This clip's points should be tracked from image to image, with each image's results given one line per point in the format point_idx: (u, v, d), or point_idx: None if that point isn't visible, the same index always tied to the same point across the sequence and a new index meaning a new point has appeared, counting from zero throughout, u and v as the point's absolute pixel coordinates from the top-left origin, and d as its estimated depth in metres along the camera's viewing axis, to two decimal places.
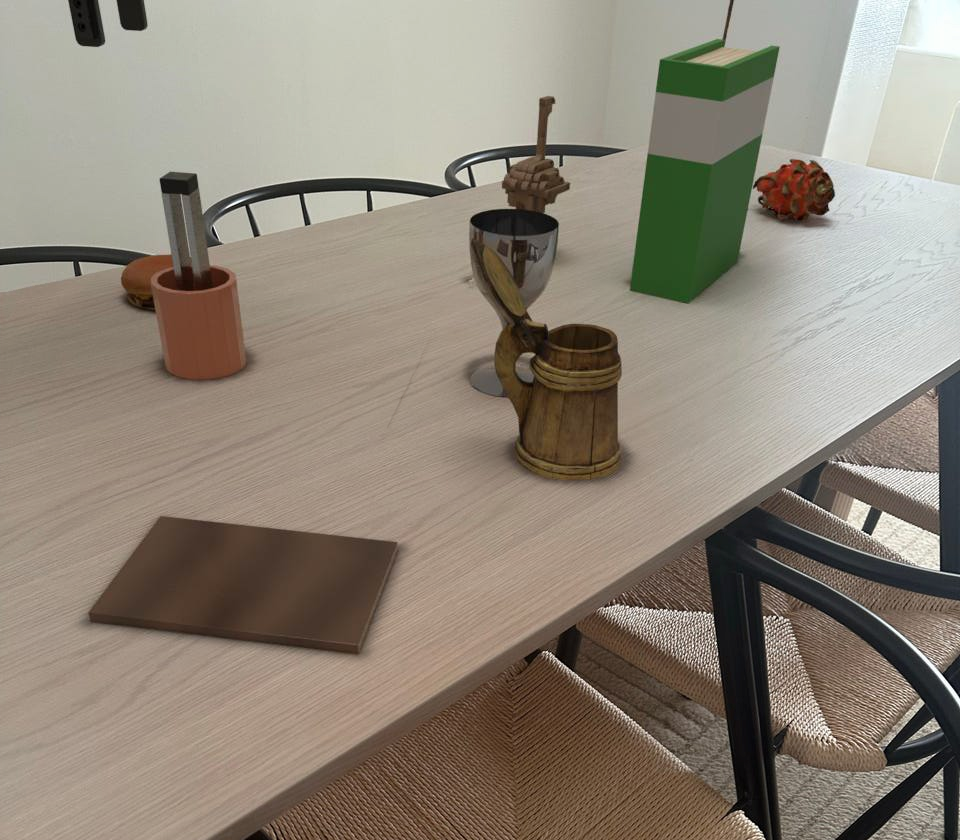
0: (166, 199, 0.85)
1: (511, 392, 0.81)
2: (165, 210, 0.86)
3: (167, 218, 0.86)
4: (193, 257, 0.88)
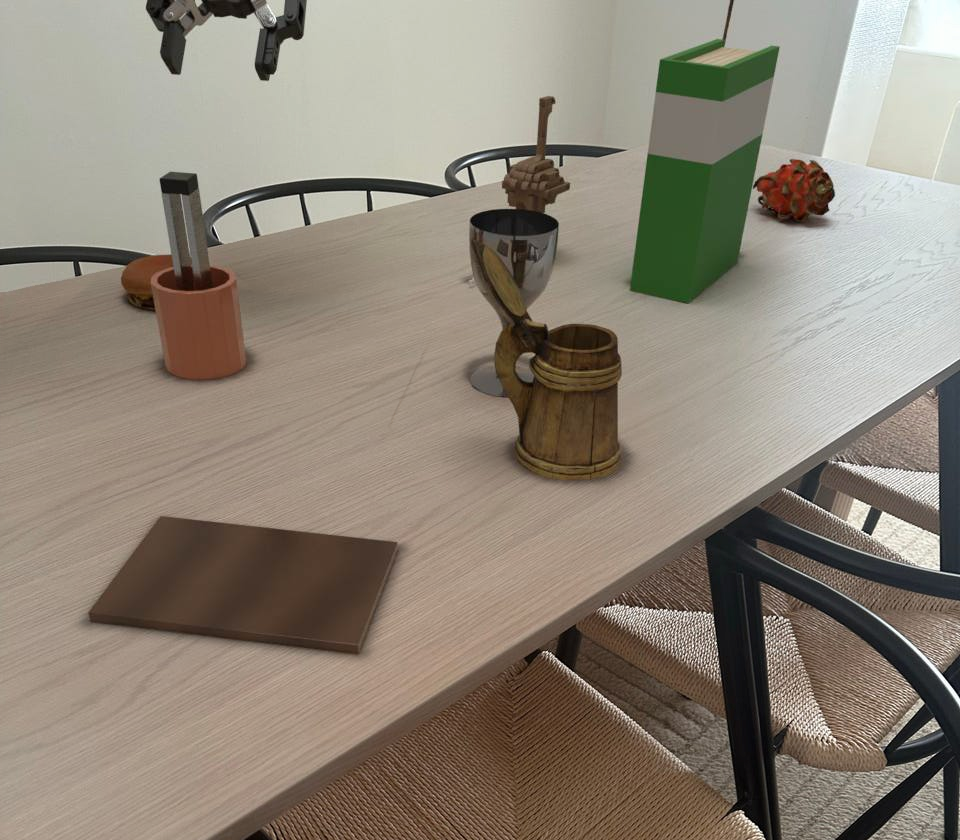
0: (166, 199, 0.85)
1: (511, 392, 0.81)
2: (165, 210, 0.86)
3: (167, 218, 0.86)
4: (193, 257, 0.88)
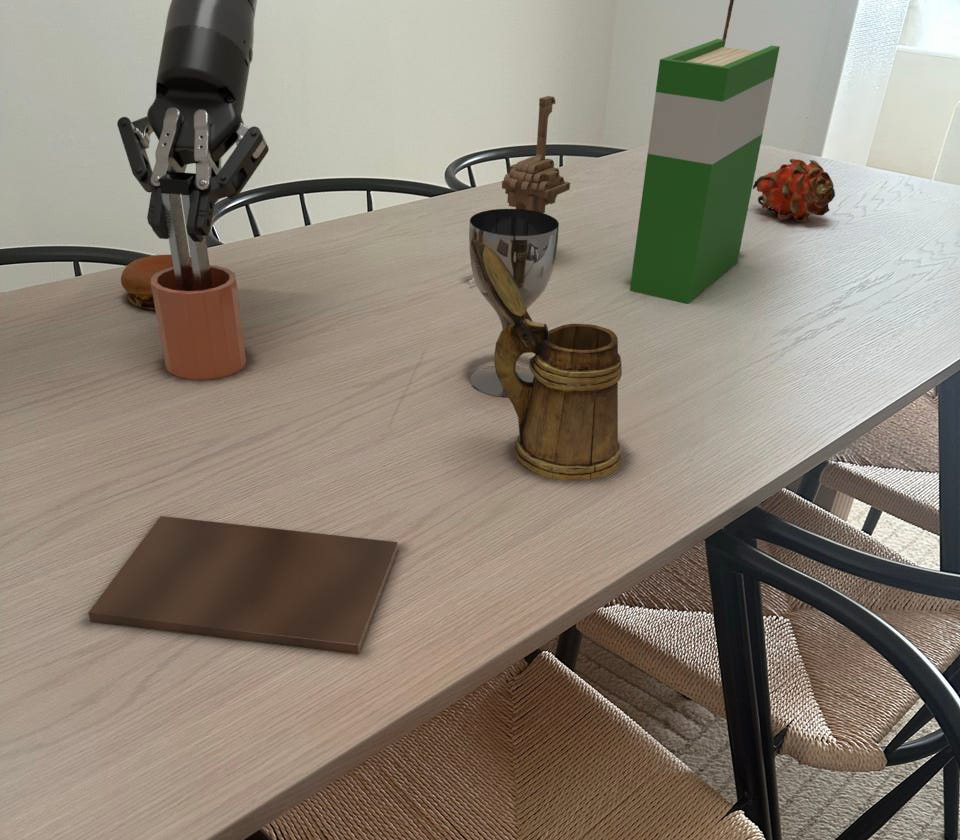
0: (166, 199, 0.85)
1: (511, 392, 0.81)
2: (165, 210, 0.86)
3: (167, 218, 0.86)
4: (193, 257, 0.88)
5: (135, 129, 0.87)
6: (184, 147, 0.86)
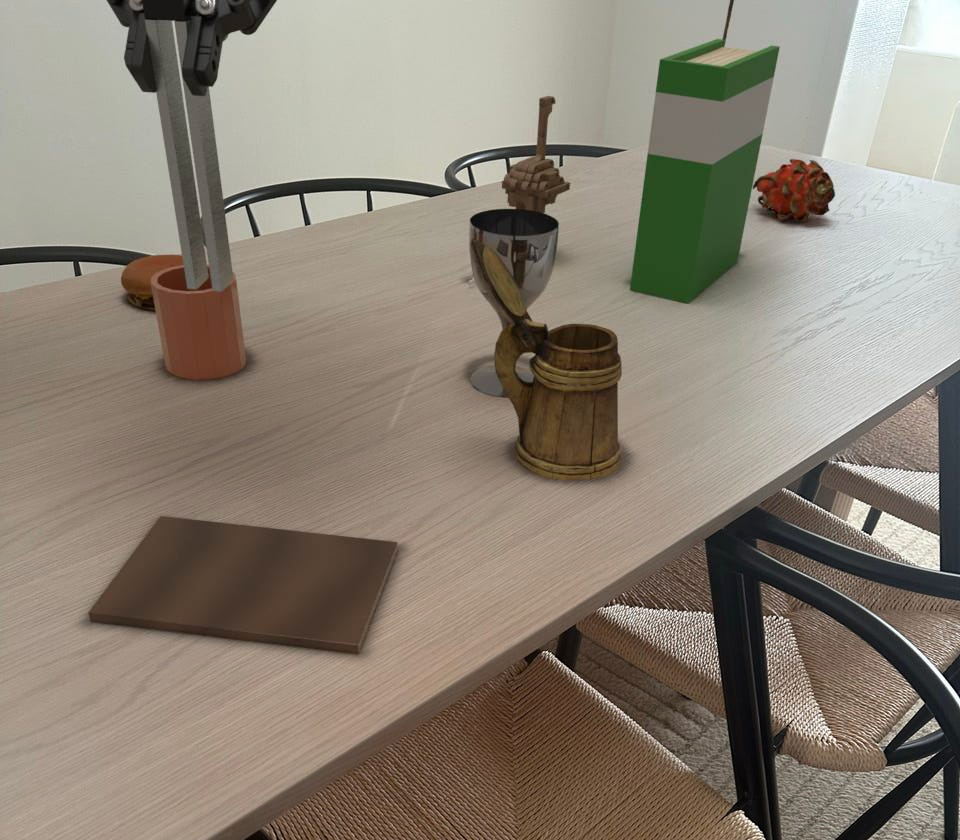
0: (152, 29, 0.58)
1: (511, 392, 0.81)
2: (150, 47, 0.58)
3: (153, 60, 0.59)
4: (192, 121, 0.61)
5: None
6: None
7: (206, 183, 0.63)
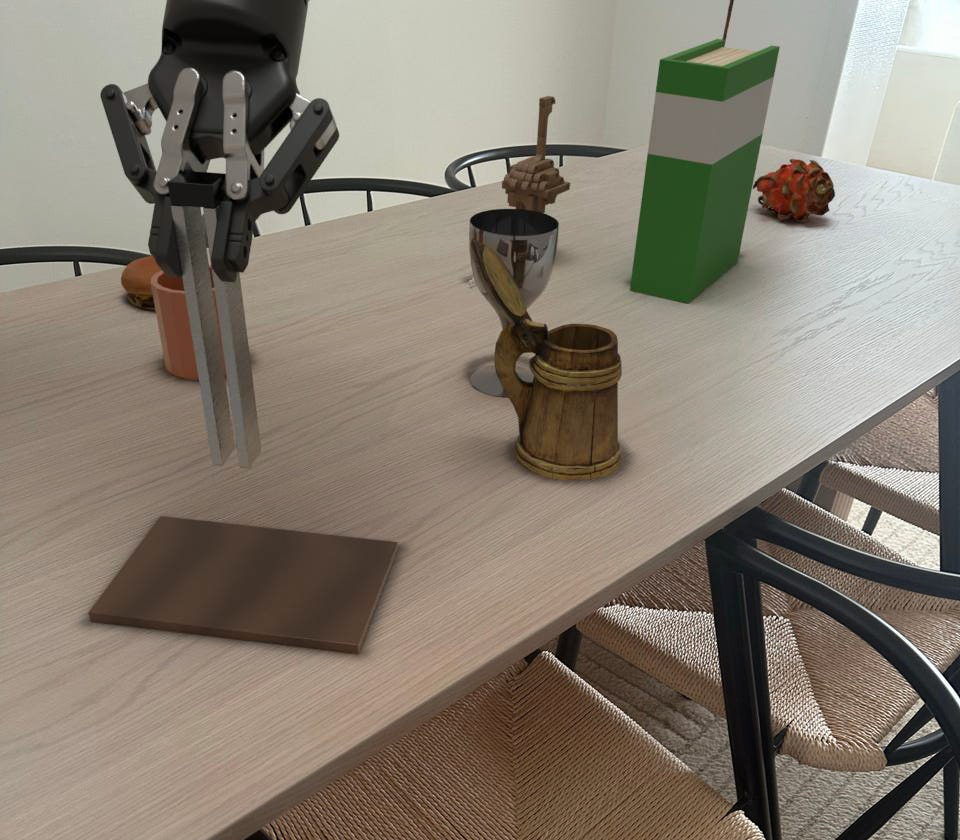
0: (178, 215, 0.53)
1: (511, 392, 0.81)
2: (177, 232, 0.54)
3: (180, 245, 0.54)
4: (220, 305, 0.56)
5: (129, 104, 0.54)
6: (206, 132, 0.54)
7: (235, 365, 0.58)
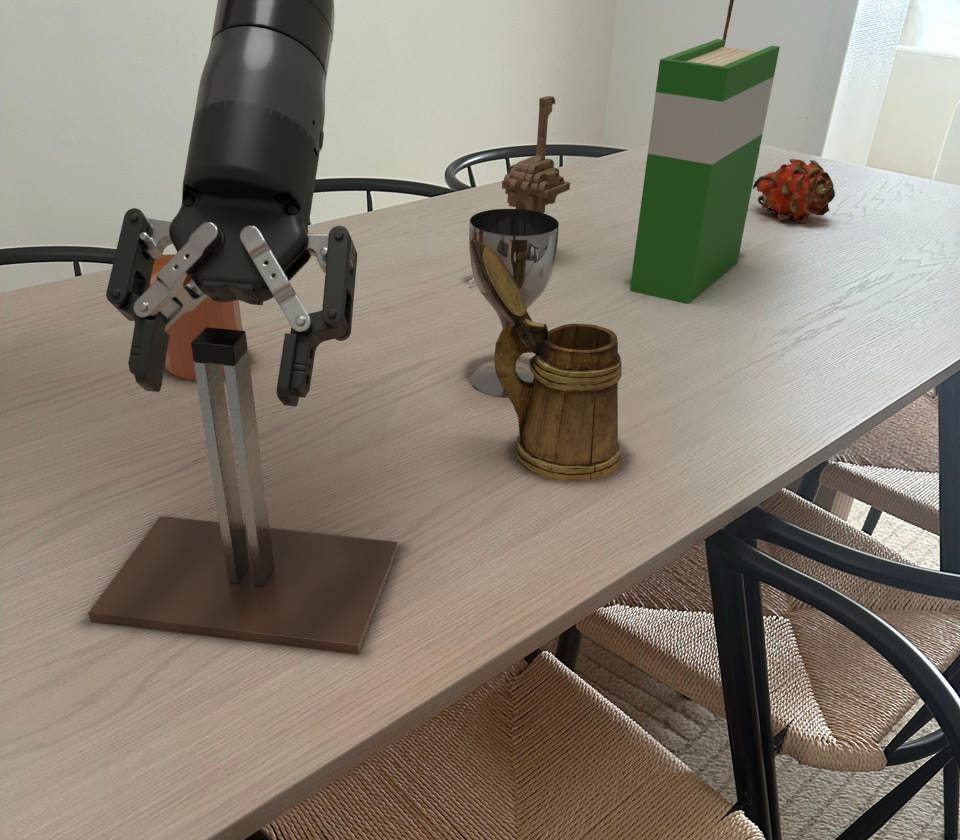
0: (200, 370, 0.57)
1: (511, 392, 0.81)
2: (198, 385, 0.58)
3: (201, 395, 0.58)
4: (238, 447, 0.60)
5: (143, 235, 0.58)
6: (224, 281, 0.58)
7: (251, 498, 0.63)
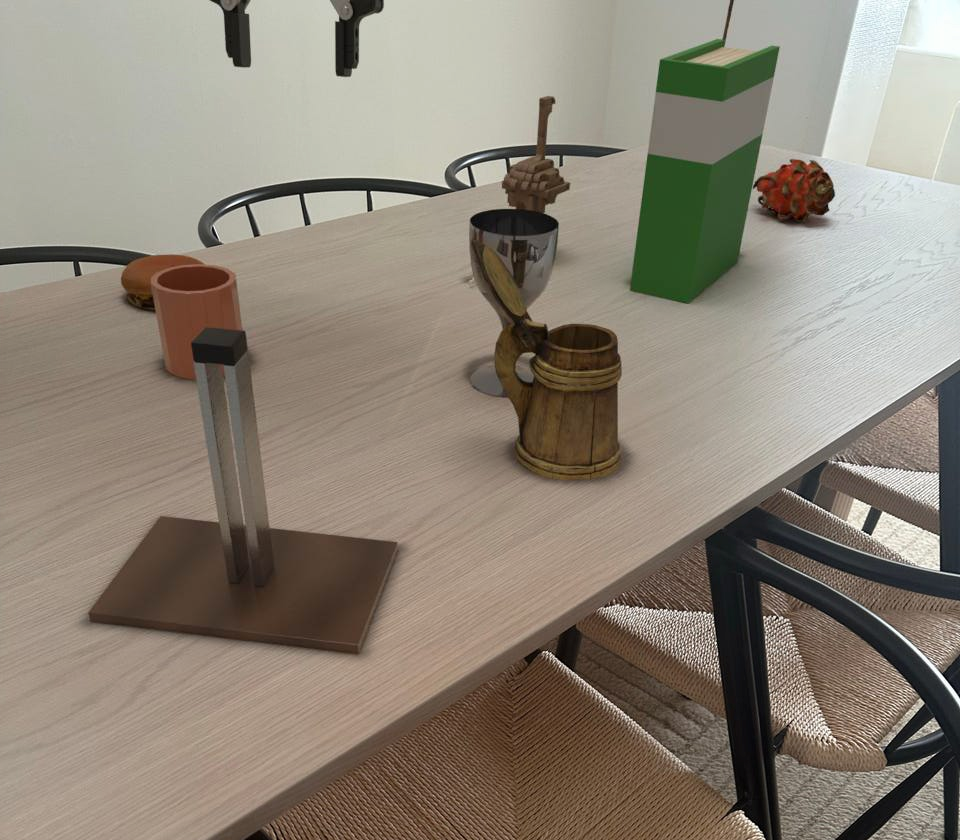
0: (200, 370, 0.57)
1: (511, 392, 0.81)
2: (198, 385, 0.58)
3: (201, 395, 0.58)
4: (238, 447, 0.60)
5: None
6: None
7: (251, 498, 0.63)
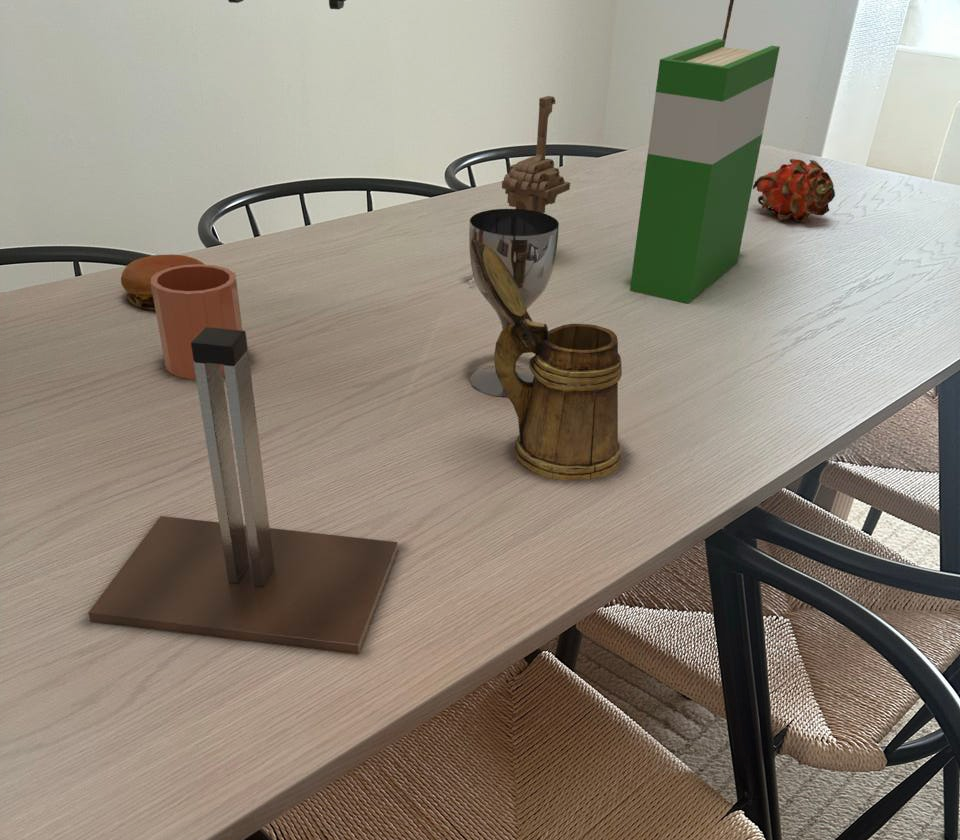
0: (200, 370, 0.57)
1: (511, 392, 0.81)
2: (198, 385, 0.58)
3: (201, 395, 0.58)
4: (238, 447, 0.60)
5: None
6: None
7: (251, 498, 0.63)
